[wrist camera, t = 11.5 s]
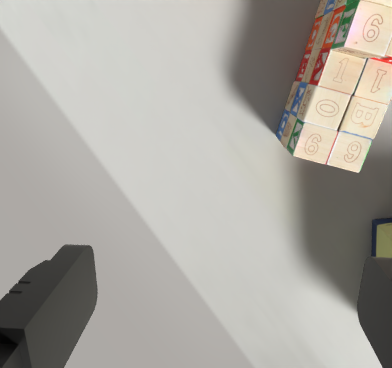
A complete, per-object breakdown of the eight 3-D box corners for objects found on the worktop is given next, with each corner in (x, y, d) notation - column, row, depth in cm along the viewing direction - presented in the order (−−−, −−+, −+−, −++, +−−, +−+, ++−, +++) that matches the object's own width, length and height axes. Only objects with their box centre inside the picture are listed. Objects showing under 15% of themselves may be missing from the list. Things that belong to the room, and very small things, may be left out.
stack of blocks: (328, 150, 39) (373, 186, 27) (274, 135, 39) (296, 166, 27) (415, -70, 32) (525, -146, 20) (350, -88, 32) (423, -176, 20)
